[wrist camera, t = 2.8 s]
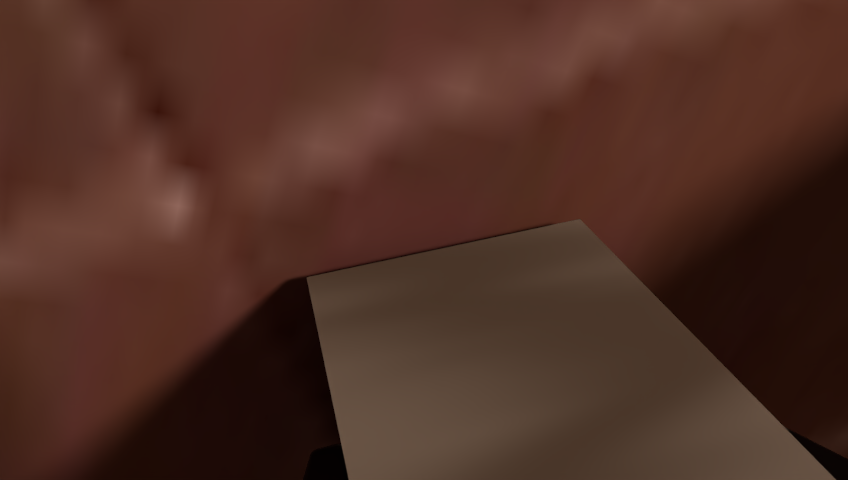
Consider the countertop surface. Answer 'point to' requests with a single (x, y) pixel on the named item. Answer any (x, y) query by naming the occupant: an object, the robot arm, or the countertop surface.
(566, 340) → the sliding drawer box
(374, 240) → the countertop surface
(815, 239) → the countertop surface
